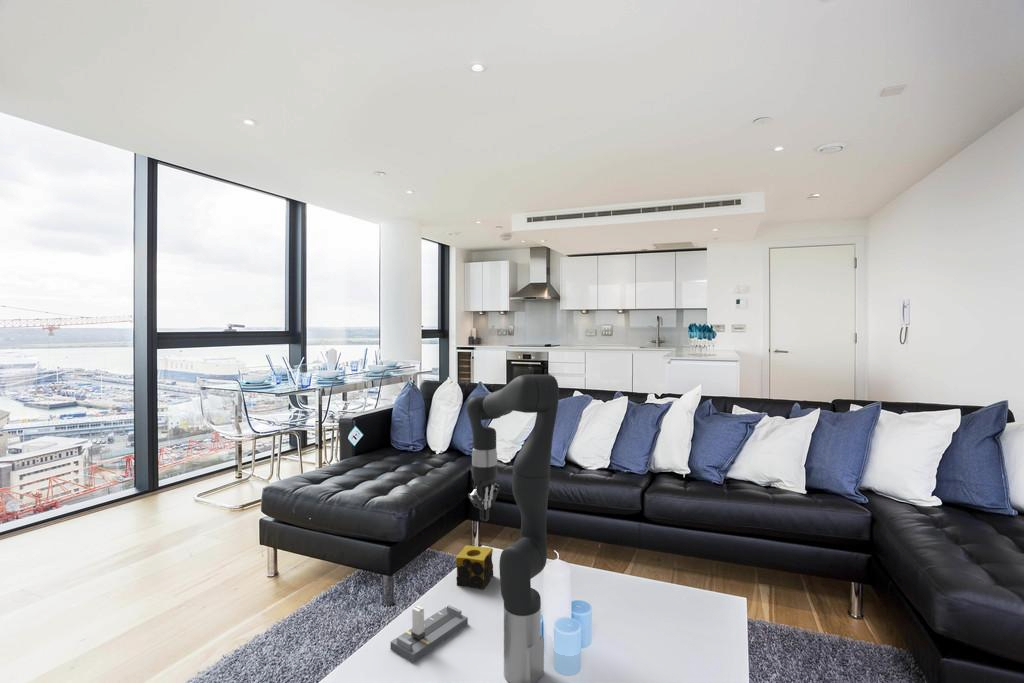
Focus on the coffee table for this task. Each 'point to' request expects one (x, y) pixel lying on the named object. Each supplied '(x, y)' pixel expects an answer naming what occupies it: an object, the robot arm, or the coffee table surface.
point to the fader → (418, 622)
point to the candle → (474, 567)
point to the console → (430, 633)
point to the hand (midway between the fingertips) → (484, 520)
